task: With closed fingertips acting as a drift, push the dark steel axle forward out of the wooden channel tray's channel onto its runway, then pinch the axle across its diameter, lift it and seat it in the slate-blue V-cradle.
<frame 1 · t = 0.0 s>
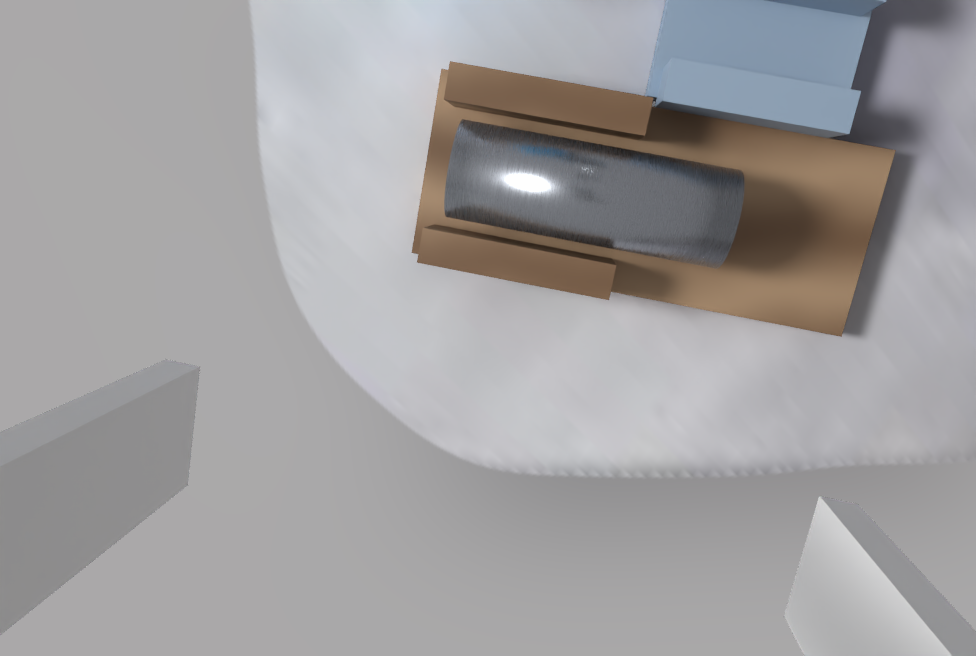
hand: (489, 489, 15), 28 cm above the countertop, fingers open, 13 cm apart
wooden channel tray: (622, 199, 41), on the countertop
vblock: (752, 47, 39), on the countertop
axle: (588, 193, 40), point 1 cm above the countertop, touching wooden channel tray
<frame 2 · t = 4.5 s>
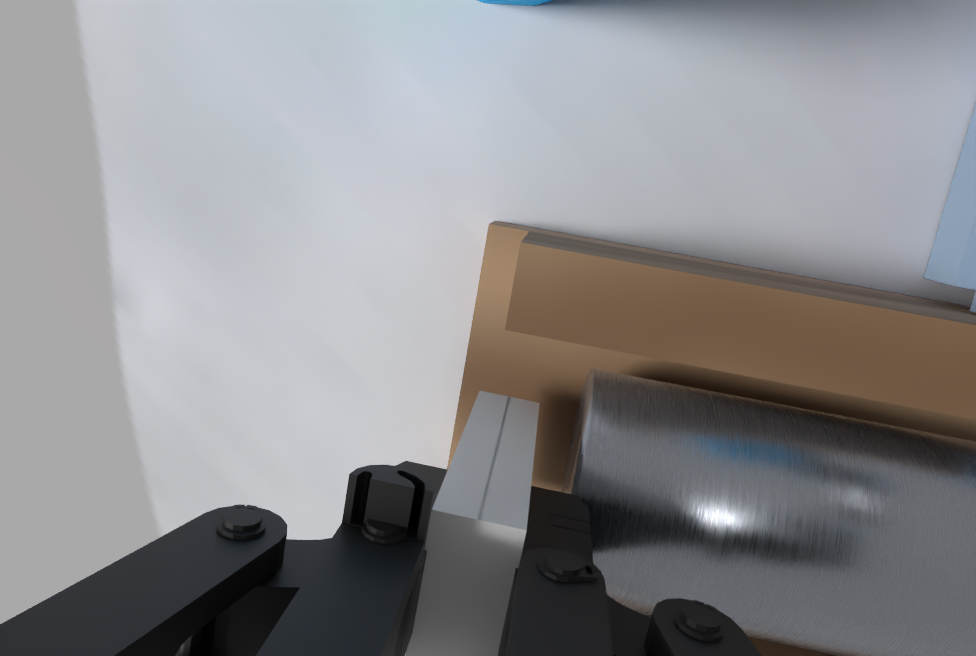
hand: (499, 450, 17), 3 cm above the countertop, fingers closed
wooden channel tray: (863, 477, 20), on the countertop
axle: (847, 494, 18), point 1 cm above the countertop, touching wooden channel tray, gripper
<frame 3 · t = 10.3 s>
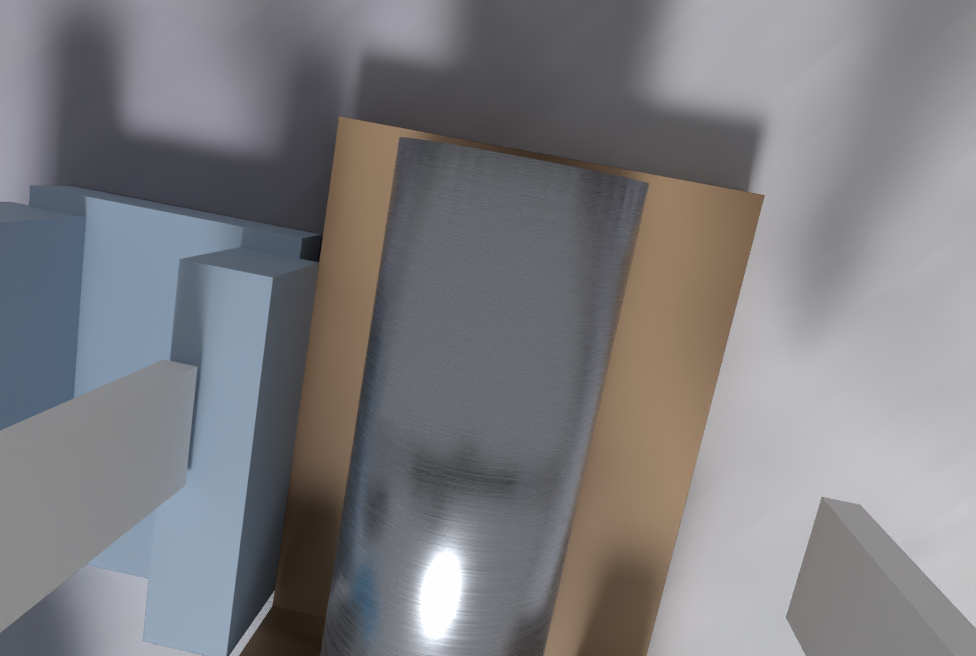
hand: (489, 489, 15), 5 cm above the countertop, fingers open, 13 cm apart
wooden channel tray: (459, 614, 21), on the countertop
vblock: (176, 387, 21), on the countertop
axle: (489, 447, 18), point 2 cm above the countertop, tilted 8°, touching wooden channel tray
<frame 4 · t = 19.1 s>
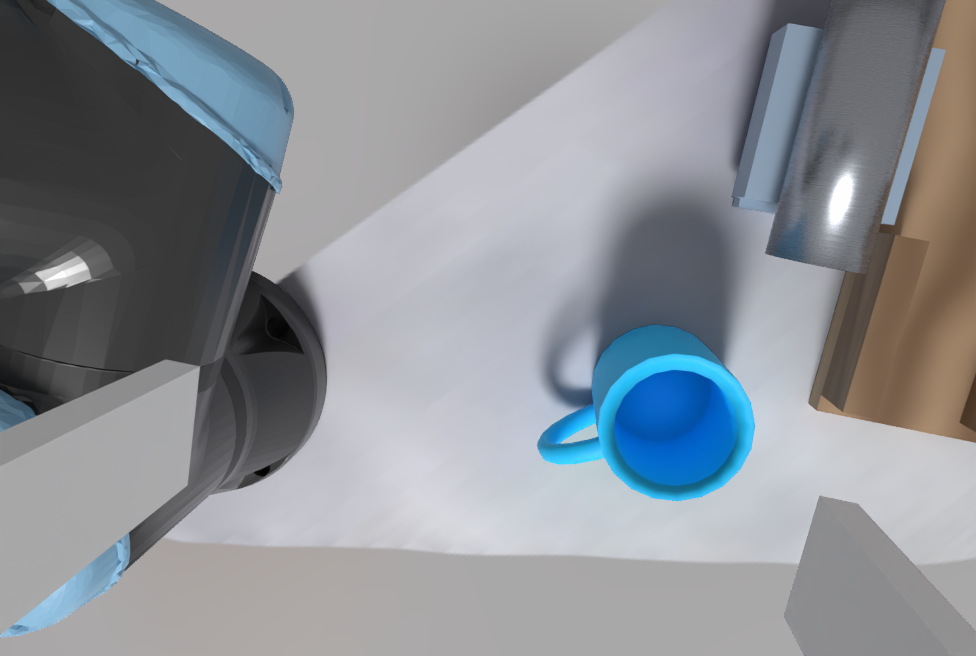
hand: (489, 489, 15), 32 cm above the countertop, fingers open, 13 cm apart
wooden channel tray: (943, 245, 43), on the countertop
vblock: (813, 131, 43), on the countertop
axle: (852, 133, 39), point 4 cm above the countertop, tilted 21°, touching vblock
mug: (627, 396, 47), on the countertop
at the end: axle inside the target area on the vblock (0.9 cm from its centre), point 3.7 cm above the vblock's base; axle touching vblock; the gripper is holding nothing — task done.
